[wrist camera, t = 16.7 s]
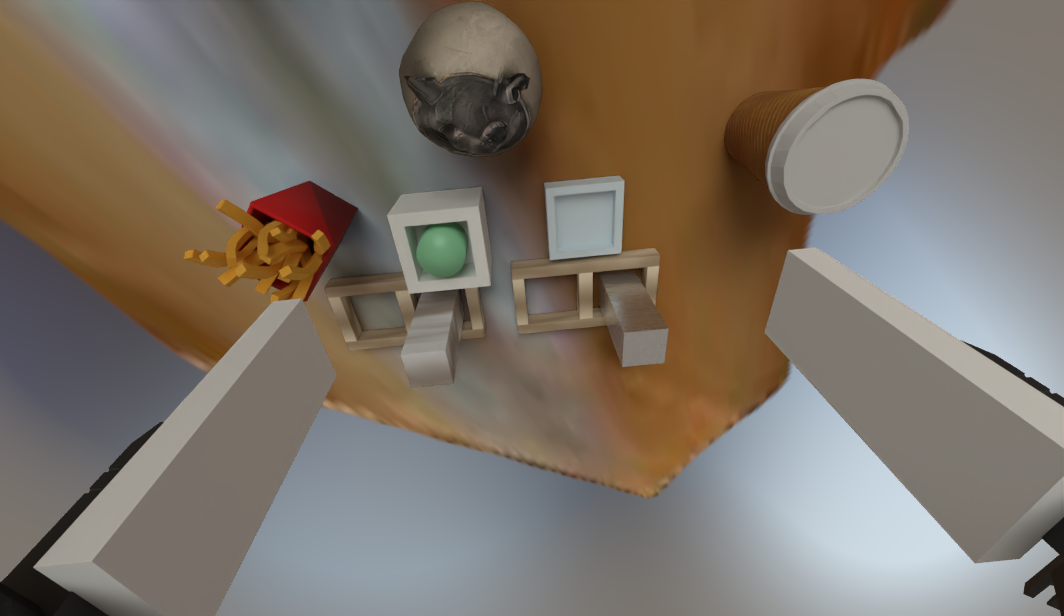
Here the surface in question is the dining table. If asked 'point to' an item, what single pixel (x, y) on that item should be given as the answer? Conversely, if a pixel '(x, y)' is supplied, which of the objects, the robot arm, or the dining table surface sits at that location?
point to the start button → (442, 249)
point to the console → (433, 209)
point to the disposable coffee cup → (820, 143)
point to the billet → (631, 318)
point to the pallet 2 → (578, 286)
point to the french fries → (282, 240)
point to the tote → (584, 217)
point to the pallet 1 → (412, 324)
